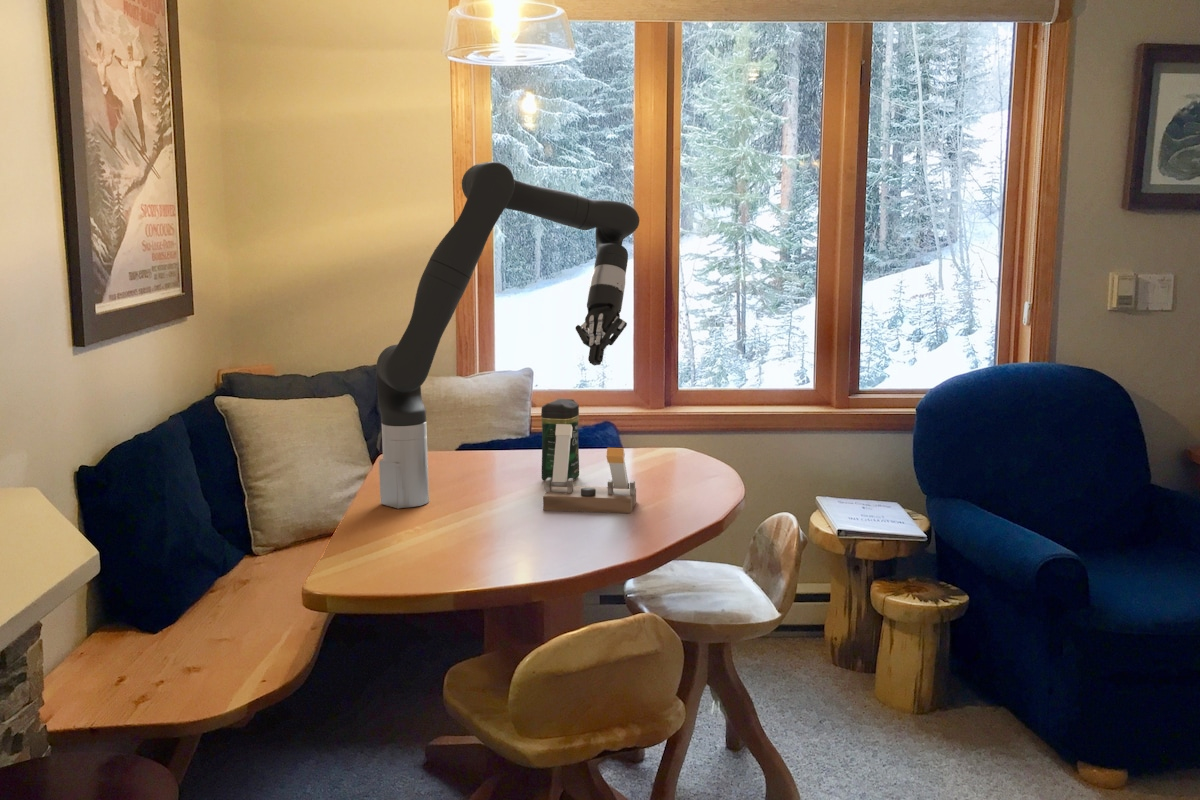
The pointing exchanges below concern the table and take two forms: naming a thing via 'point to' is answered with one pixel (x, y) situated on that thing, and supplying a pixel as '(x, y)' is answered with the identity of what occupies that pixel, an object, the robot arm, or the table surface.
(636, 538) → the table surface
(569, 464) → the coffee jar
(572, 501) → the console
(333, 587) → the table surface
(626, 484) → the lever orange
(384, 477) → the robot arm
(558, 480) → the lever ivory
